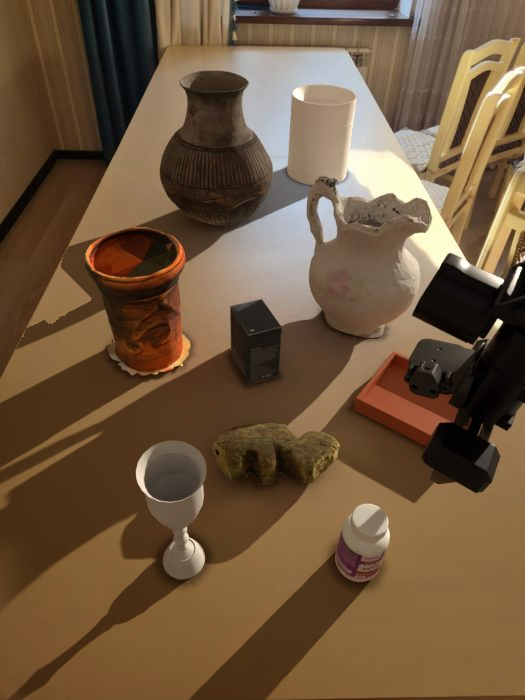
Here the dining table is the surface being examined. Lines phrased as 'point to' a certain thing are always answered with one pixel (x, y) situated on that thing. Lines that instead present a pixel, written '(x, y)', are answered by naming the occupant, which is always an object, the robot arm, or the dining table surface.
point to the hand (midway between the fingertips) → (446, 451)
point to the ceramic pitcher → (364, 258)
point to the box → (255, 341)
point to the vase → (215, 153)
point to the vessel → (141, 297)
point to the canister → (320, 132)
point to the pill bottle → (362, 543)
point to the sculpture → (273, 453)
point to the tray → (402, 402)
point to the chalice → (175, 500)
